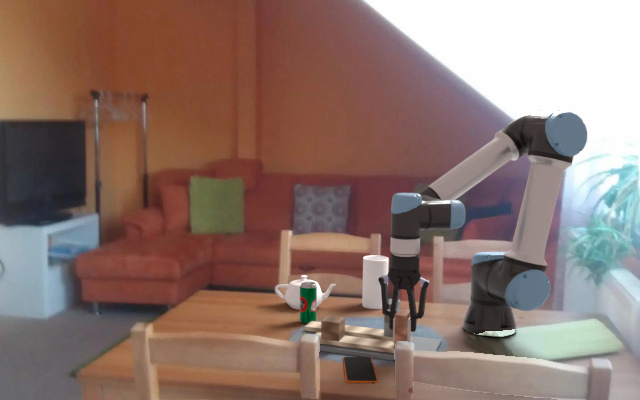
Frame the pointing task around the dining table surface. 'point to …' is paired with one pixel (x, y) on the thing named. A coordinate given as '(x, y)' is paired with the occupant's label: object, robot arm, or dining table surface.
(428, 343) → the board
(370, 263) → the cup
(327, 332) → the block
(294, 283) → the teapot
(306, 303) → the soda can
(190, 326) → the dining table surface
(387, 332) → the strip
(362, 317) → the dining table surface
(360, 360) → the smartphone
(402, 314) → the strip
